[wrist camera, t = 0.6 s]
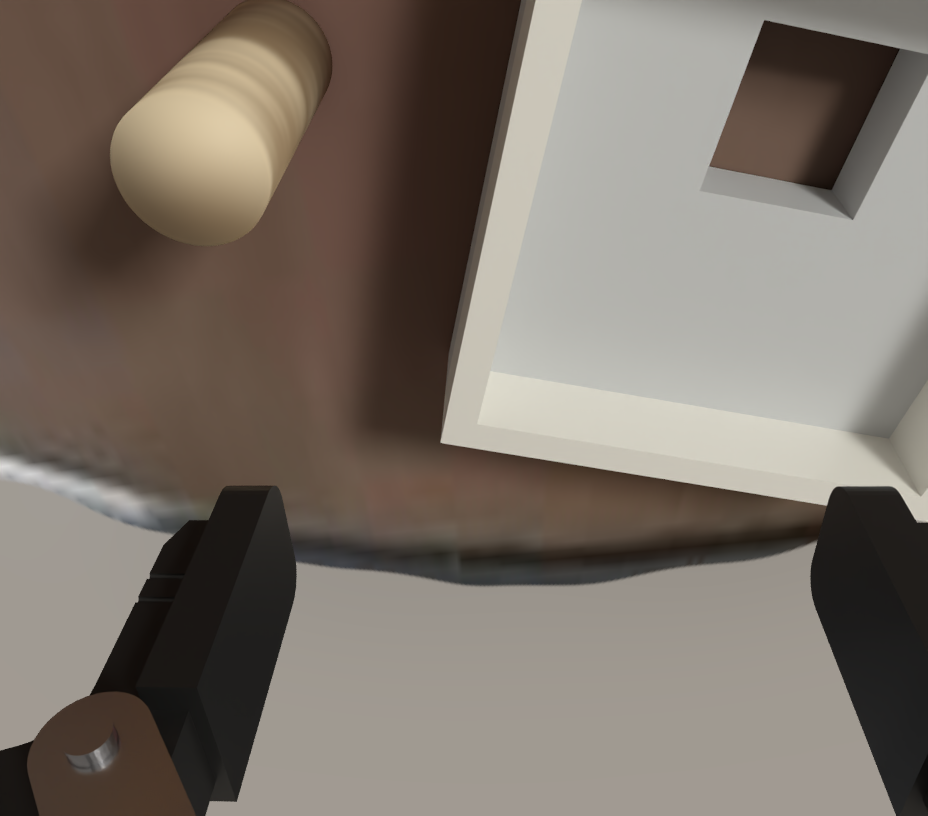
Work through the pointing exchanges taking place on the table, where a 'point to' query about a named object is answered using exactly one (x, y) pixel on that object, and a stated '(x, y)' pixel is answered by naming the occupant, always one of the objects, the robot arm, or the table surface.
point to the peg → (223, 124)
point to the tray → (696, 262)
